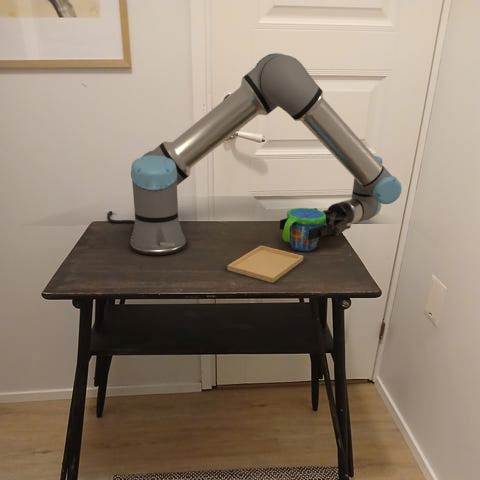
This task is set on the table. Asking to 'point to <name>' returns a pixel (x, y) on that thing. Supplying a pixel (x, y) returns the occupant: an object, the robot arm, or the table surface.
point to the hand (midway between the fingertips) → (294, 229)
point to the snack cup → (302, 228)
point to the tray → (265, 263)
